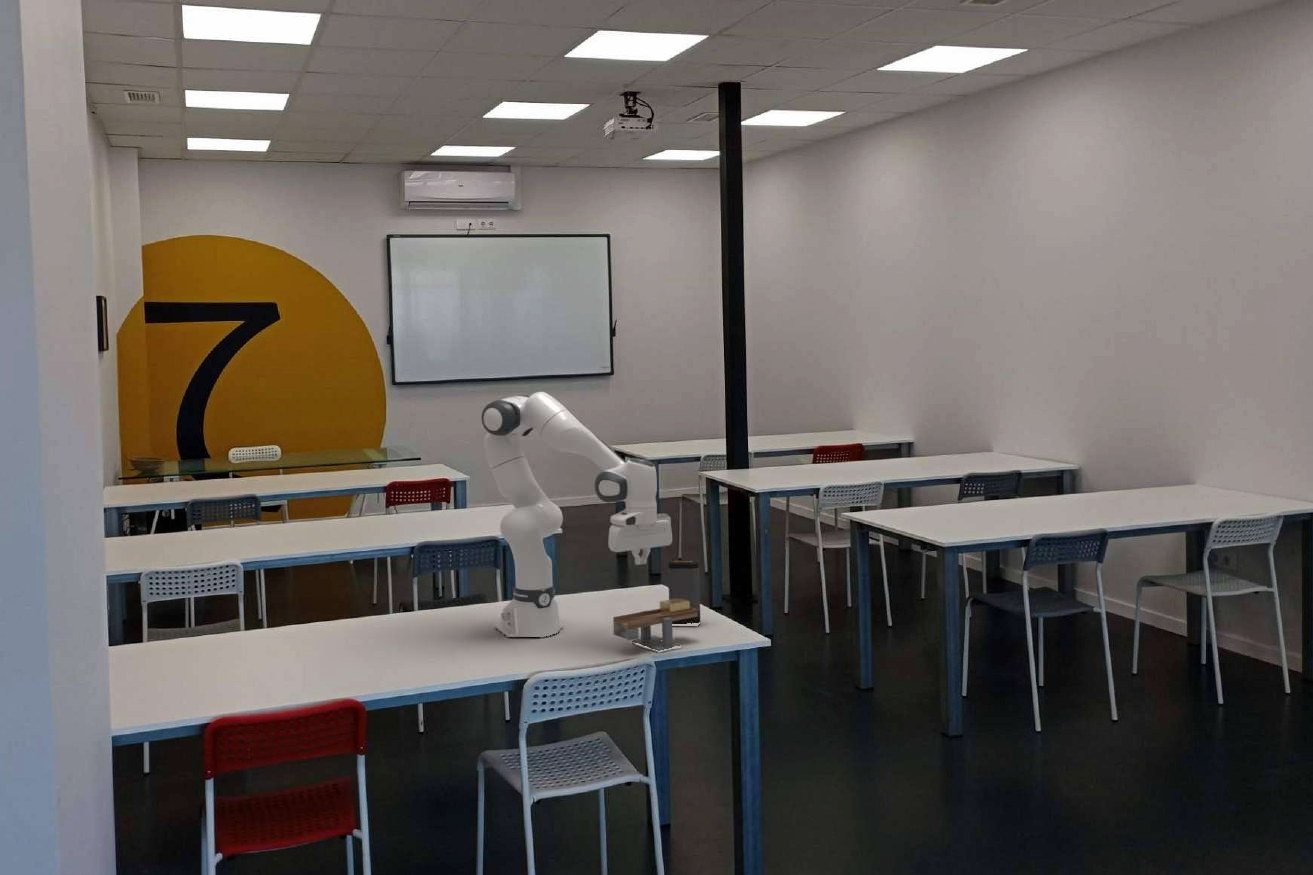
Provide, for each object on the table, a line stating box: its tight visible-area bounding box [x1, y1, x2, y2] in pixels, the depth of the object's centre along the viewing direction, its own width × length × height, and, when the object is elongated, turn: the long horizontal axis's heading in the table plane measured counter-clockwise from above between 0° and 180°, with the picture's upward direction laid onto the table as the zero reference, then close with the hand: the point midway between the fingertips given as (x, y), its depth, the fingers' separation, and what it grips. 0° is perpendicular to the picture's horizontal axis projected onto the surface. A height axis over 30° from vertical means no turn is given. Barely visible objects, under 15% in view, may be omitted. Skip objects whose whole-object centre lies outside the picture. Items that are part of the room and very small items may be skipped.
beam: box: [612, 607, 698, 641], centre depth 322 cm, size 8×24×5 cm, turn 126°
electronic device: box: [667, 558, 701, 624], centre depth 345 cm, size 9×6×20 cm, turn 84°
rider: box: [659, 598, 690, 615], centre depth 326 cm, size 5×7×4 cm
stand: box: [631, 610, 682, 651], centre depth 322 cm, size 13×8×9 cm, turn 36°
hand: (640, 564), depth 321 cm, fingers closed
